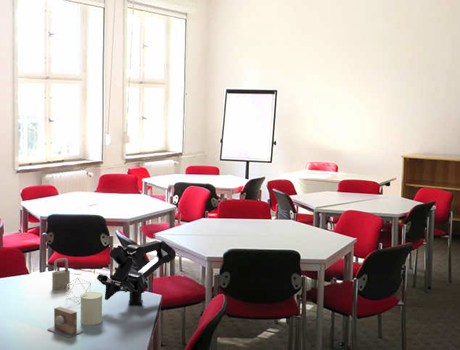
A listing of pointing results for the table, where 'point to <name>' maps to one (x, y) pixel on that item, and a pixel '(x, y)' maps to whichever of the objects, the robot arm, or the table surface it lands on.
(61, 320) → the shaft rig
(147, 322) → the table surface
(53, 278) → the padlock
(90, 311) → the can
